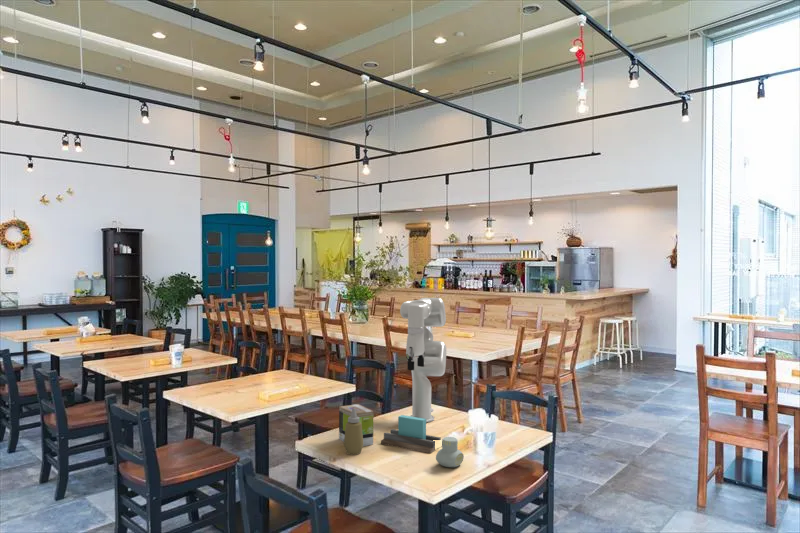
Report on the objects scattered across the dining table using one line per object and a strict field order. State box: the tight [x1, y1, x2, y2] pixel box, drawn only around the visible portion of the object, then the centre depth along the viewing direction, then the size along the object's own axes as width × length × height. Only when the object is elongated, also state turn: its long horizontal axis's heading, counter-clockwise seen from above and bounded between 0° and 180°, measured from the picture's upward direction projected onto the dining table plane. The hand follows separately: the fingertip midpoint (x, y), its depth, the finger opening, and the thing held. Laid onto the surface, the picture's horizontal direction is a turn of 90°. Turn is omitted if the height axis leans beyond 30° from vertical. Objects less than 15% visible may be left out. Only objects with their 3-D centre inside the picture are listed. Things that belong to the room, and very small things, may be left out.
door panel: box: [397, 414, 427, 440], centre depth 227 cm, size 3×12×10 cm, turn 60°
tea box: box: [338, 403, 375, 447], centre depth 230 cm, size 15×10×15 cm, turn 32°
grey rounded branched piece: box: [435, 436, 464, 468], centre depth 203 cm, size 11×8×10 cm
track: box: [380, 428, 442, 454], centre depth 227 cm, size 12×24×4 cm, turn 61°
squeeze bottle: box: [343, 408, 364, 456], centre depth 217 cm, size 8×8×18 cm
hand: (415, 368), depth 243 cm, fingers open, 9 cm apart
